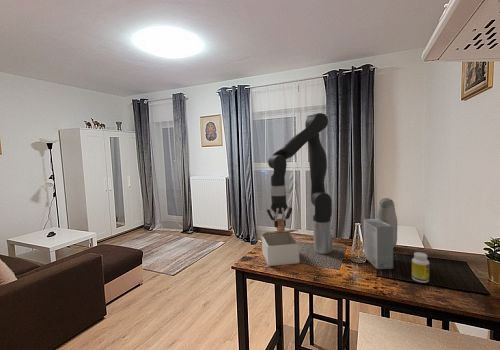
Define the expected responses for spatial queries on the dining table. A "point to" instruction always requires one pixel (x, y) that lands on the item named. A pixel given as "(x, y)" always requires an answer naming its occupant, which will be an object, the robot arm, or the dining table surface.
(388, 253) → the hard drive box
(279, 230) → the flap
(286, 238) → the carton
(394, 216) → the grey bottle
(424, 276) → the pill bottle
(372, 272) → the dining table surface
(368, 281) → the dining table surface
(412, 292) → the dining table surface
